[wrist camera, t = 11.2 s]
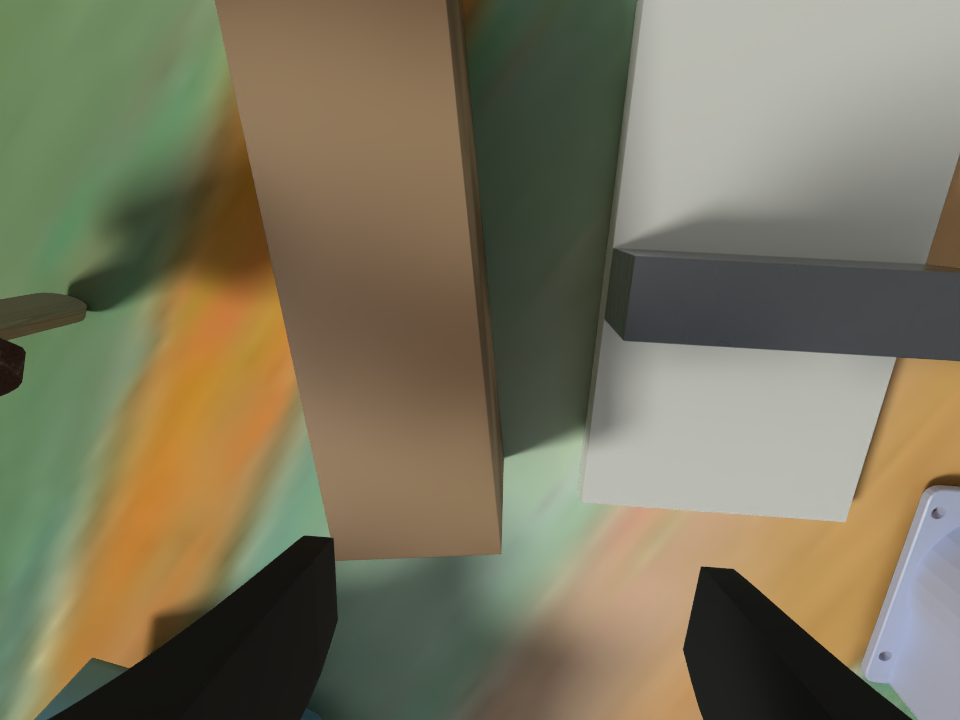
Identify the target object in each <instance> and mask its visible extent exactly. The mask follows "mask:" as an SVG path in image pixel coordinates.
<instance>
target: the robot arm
mask: <svg viewBox="0 0 960 720" xmlns="http://www.w3.org/2000/svg"><path fill="white" fill-rule="evenodd" d="M935 508H937V509H936V510H935V511H934V512H932V511H933V510H934V509H935ZM931 512H932V513H931ZM337 621H338V615H337V594H336V574H335V553H334V538H329V537H316V536H303V537H301V538H300V539H299V540H298V541H296V542H295V543H294V544H293V545H291V546H290V547H289V548H288V549H287V550H285V551H284V552H283V553H282V554H280V555H279V556H278V557H277V558H275V559H274V560H273V561H272V562H271V563H269V564H268V565H267V566H266V567H264V568H263V569H262V570H261V571H260V572H258V573H257V574H256V575H255V576H253V577H252V578H251V579H250V580H249V581H247V582H246V583H245V584H244V585H242V586H241V587H240V588H239V589H237V590H236V591H235V592H233V593H232V594H231V595H230V596H228V597H227V598H226V599H225V600H223V601H222V602H221V603H220V604H218V605H217V606H216V607H214V608H213V609H212V610H211V611H209V612H208V613H207V614H205V615H204V616H202V617H201V618H200V619H198V620H197V621H196V622H194V623H193V624H192V625H190V626H189V627H187V628H186V629H185V630H183V631H182V632H181V633H179V634H178V635H177V636H175V637H174V638H172V639H171V640H170V641H168V642H167V643H166V644H164V645H163V646H162V647H160V648H159V649H157V650H156V651H155V652H153V653H152V654H150V655H149V656H147V657H146V658H144V659H143V660H142V661H140V662H139V663H137V664H136V665H134V666H133V667H131V668H130V669H128V670H127V671H125V672H124V673H122V674H121V675H119V676H117V677H116V678H114V679H113V680H111V681H110V682H108V683H106V684H105V685H103V686H102V687H100V688H99V689H97V690H95V691H94V692H92V693H91V694H89V695H88V696H86V697H84V698H83V699H81V700H80V701H78V702H76V703H75V704H73V705H71V706H70V707H68V708H66V709H65V710H63V711H61V712H60V713H58V714H56V715H54V716H53V717H51V718H49V719H47V720H301V718H302V716H303V713H304V711H305V709H306V707H307V704H308V702H309V700H310V697H311V695H312V693H313V691H314V688H315V686H316V684H317V681H318V679H319V677H320V674H321V671H322V668H323V665H324V662H325V659H326V656H327V653H328V650H329V647H330V644H331V641H332V637H333V634H334V631H335V628H336V624H337ZM683 651H684V655H685V659H686V663H687V667H688V670H689V674H690V678H691V682H692V685H693V689H694V692H695V696H696V699H697V703H698V706H699V709H700V712H701V715H702V717H703V720H912V719H911V718H910V717H908V716H907V715H906V714H905V713H903V712H902V711H901V710H900V709H898V708H897V707H896V706H895V705H893V704H892V703H891V702H889V701H888V700H887V699H886V698H884V697H883V696H882V695H881V694H879V693H878V692H877V691H876V690H874V689H873V688H872V687H871V686H869V685H868V684H867V683H866V682H865V681H863V680H862V679H861V678H860V677H859V676H857V675H856V674H855V673H854V672H853V671H851V670H850V669H849V668H848V667H847V666H845V665H844V664H843V663H842V662H841V661H839V660H838V659H837V658H836V657H835V656H834V655H832V654H831V653H830V652H829V651H828V650H827V649H825V648H824V647H823V646H822V645H821V644H820V643H818V642H817V641H816V640H815V639H814V638H813V637H811V636H810V635H809V634H808V633H807V632H806V631H805V630H803V629H802V628H801V627H800V626H799V625H798V624H797V623H795V622H794V621H793V620H792V619H791V618H790V617H789V616H787V615H786V614H785V613H784V612H783V611H782V610H781V609H779V608H778V607H777V606H776V605H775V604H774V603H773V602H772V601H770V600H769V599H768V598H767V597H766V596H765V595H764V594H762V593H761V592H760V591H759V590H758V589H757V588H756V587H754V586H753V585H752V584H751V583H750V582H749V581H747V580H746V579H745V578H744V577H743V576H741V575H740V574H739V573H738V572H736V571H735V570H734V569H726V568H714V567H701V569H700V574H699V578H698V583H697V588H696V592H695V597H694V601H693V606H692V611H691V615H690V620H689V625H688V629H687V634H686V638H685V643H684V648H683ZM861 671H862V673H863V674H864V676H865V677H866V678H867V679H868V680H869V681H872V682H878V683H890V685H891V686H892V688H893V689H894V690H895V691H896V693H897V694H898V695H899V696H900V698H901V699H902V700H903V701H904V702H905V704H906V705H907V706H908V707H909V709H910V710H911V711H912V712H913V714H914V715H915V716H916V717H917V719H918V720H960V487H959V486H945V485H935V486H932V487H929V488H928V489H926V490H925V491H924V493H923V494H922V496H921V499H920V502H919V505H918V508H917V510H916V513H915V516H914V519H913V522H912V524H911V527H910V530H909V533H908V536H907V538H906V541H905V544H904V547H903V550H902V552H901V555H900V558H899V561H898V564H897V566H896V569H895V572H894V575H893V578H892V580H891V583H890V586H889V589H888V592H887V594H886V597H885V600H884V603H883V606H882V608H881V611H880V614H879V617H878V620H877V622H876V625H875V628H874V631H873V634H872V636H871V639H870V642H869V645H868V648H867V650H866V653H865V656H864V659H863V662H862V664H861Z"/></svg>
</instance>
